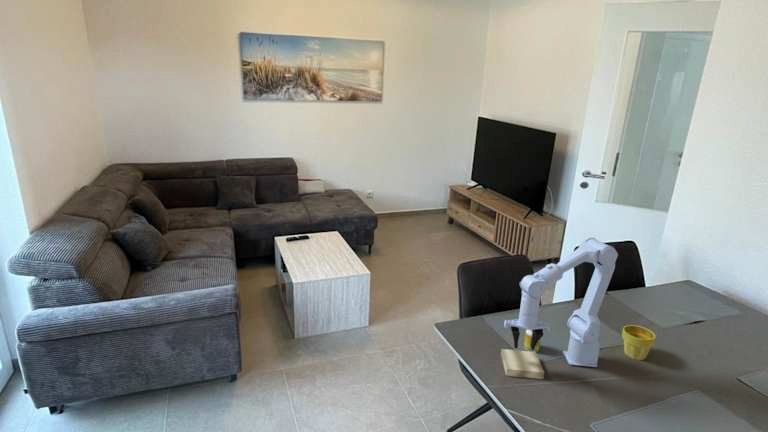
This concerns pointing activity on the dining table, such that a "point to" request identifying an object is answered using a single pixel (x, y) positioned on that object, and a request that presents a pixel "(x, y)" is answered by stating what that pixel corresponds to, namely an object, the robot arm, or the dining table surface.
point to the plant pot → (637, 341)
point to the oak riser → (522, 364)
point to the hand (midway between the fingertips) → (523, 347)
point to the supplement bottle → (528, 342)
